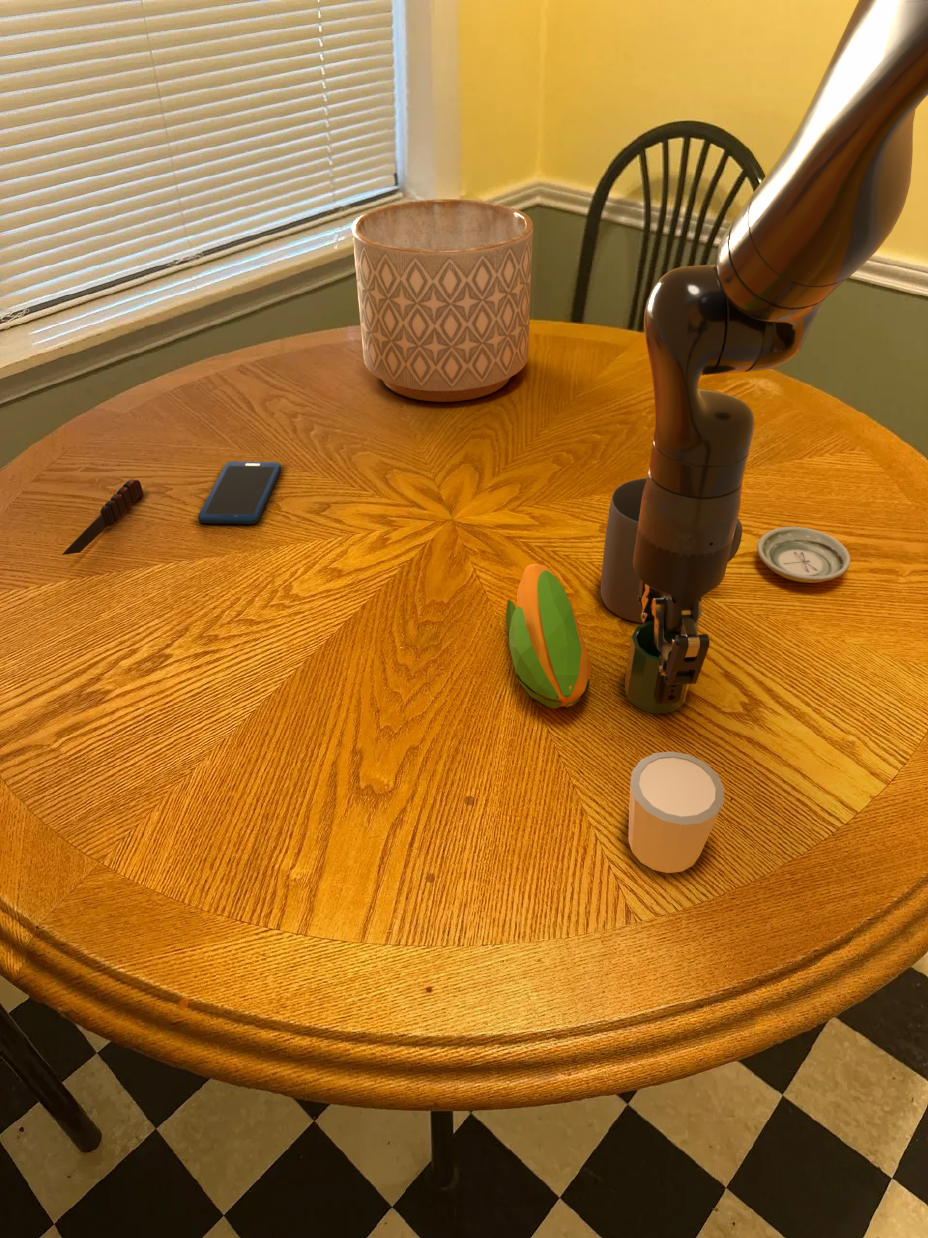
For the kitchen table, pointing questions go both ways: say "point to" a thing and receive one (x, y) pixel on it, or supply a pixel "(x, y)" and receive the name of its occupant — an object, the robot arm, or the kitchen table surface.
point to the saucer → (803, 554)
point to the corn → (547, 640)
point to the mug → (629, 551)
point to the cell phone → (240, 493)
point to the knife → (108, 514)
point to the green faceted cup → (647, 671)
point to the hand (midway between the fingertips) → (658, 676)
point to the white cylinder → (672, 810)
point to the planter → (444, 296)
